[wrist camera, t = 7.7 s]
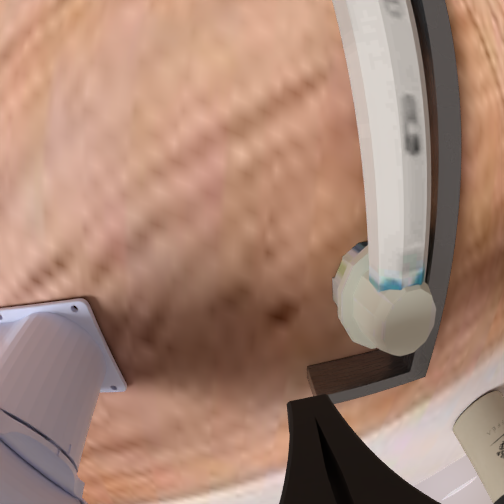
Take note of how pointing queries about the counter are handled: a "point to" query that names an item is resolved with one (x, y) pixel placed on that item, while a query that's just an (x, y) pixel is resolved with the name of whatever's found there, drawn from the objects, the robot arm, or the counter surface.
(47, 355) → the robot arm
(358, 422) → the counter surface
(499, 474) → the travel mug
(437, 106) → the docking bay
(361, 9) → the white handheld device
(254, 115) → the counter surface
